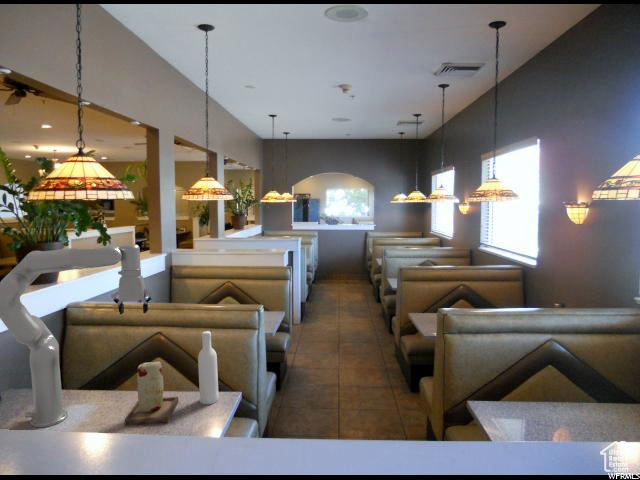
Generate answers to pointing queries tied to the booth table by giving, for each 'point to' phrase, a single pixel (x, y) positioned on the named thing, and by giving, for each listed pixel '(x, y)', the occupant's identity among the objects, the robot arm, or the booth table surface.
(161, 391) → the food model
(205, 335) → the bottle
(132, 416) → the serving board
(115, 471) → the booth table surface
